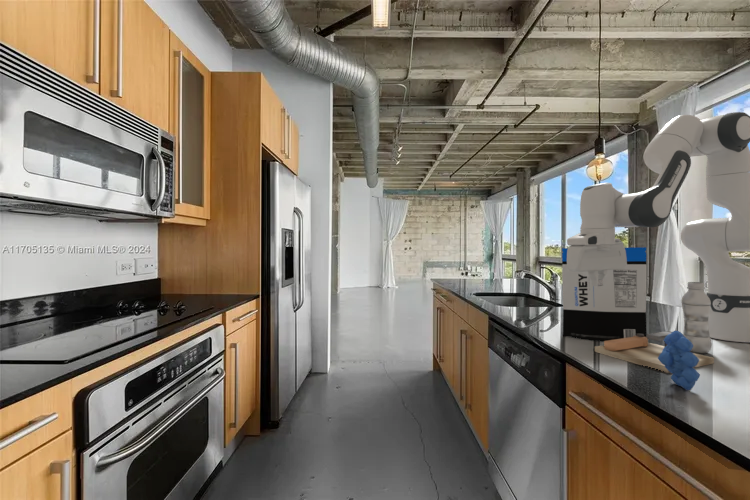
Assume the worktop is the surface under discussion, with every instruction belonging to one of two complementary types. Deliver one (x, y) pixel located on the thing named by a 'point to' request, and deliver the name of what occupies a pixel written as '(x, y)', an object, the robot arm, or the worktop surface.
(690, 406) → the worktop surface
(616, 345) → the link
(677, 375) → the grapes
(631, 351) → the board
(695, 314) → the plastic bottle
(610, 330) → the protein powder
